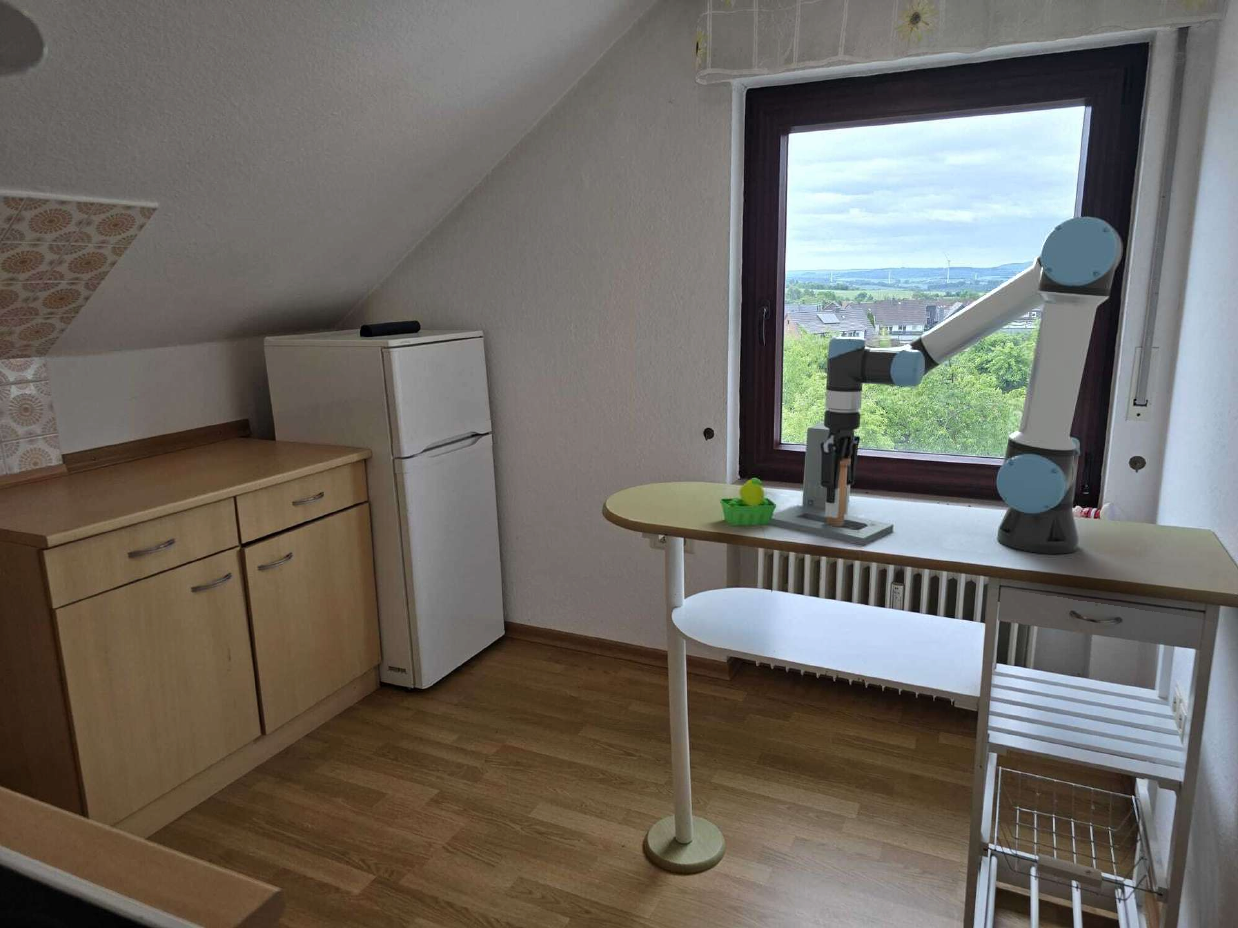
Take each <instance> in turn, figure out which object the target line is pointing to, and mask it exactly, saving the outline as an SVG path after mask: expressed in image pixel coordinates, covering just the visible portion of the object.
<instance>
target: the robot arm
mask: <svg viewBox="0 0 1238 928" xmlns="http://www.w3.org/2000/svg"><path fill="white" fill-rule="evenodd" d="M1123 248H1124V246H1123V241H1122V238H1121V236H1120V234H1119V233H1118V231H1117V230H1116V229H1115V228H1114V227H1113V226H1111V225H1110V223H1108V222H1106V220H1103V219H1101V218H1098V217H1095V216H1093V217H1092V216H1077V217H1073V218H1070V219H1067V220H1064V221H1063V222H1061V223H1059V224H1058V225H1057V226H1055V227H1054V228H1053V229H1052V230H1051V231H1050V232H1049V233H1048V234H1047V236H1046V238H1045V239H1044V241H1043V243H1042V245H1041V249H1040V254H1039V255H1038V256H1037V257H1035V258H1034V261H1033V265H1032V266H1030V267H1028V268H1027V269H1025V270H1024V271H1022V272H1020V273H1019V274H1017V275H1016V276H1014V277H1012V278H1010V279H1009V280H1008V281H1006V282H1005V283H1002V284H1001V285H1000V286H998V287H997V288H995V289H993V290H992V291H990V292H988V293H987V294H986V295H984V296H982V297H980V298H979V299H977V300H976V301H973V302H972V303H971V304H970V305H968V306H966V307H965V308H963V309H962V310H960V311H958V312H956V313H955V314H953V315H952V316H950V317H949V318H947V319H945V320H944V321H942V322H941V323H939V324H937V325H936V326H934V327H933V328H931V329H930V330H927V331H926V332H925V333H923V334H922V335H920V336H918V337H916V338H914V339H913V340H912V341H910V342H908V343H907V344H905V345H903V346H899V347H894V348H875V347H874V348H873V347H868V346H867V344H866V340H865V338H864V337H856V336H836V337H833V338H831V340H830V341H829V343H828V349H827V350H828V351H827V358H826V360H827V361H826V362H827V365H826V384H825V390H826V391H825V394H824V396H825V404H824V405H825V408H826V409H825V411H824V416H823V417H824V418H823V421H824V426H825V427H826V428H828V429H829V435H828V441H827V442H821V445H820V446H821V452H822V461H821V486H822V487H826V488H827V491H826V508H825V516H828V517H833V518H838V507H839V491H840V489H839V488H837V487H838V480H839V474H840V467H841V466H840V461H841V460H842V458H850V459H851V465H850V466H848V467H847V483H846V498H845V514H844V515H847V514H848V509H849V508H848V507H849V500H848V495H849V484H850V486H854V484H855V478H856V475H857V474H856V472H857V461H858V451H859V444H860V441H861V436H860V435H855V430H858V429H859V428H860V426H861V412H860V411H859V410H860V409H862V401H863V400H862V399H863V397H862V396H863V384H866V385H869V384H870V385H881V386H894V387H899V388H904V387H905V388H907V387H908V388H909V387H910V388H911V387H912V388H913V387H918V386H919V385H920V384H921V383H922V381H923V379H924V377H925V376H926V375H927V374H928V373H929V372H931V371H933V370H934V369H936V368H938V367H939V366H940V365H942V364H944V363H945V362H947V361H949V360H951V359H952V358H954V357H955V356H957V355H959V354H960V353H962V352H964V351H966V350H967V349H969V348H971V347H972V346H974V345H976V344H977V343H979V342H981V341H982V340H984V339H986V338H987V337H990V336H991V335H994V333H997V332H998V331H1000V330H1001V329H1003V328H1004V327H1006V326H1008V325H1010V324H1011V323H1014V322H1015V321H1016V320H1019V318H1021V317H1023V316H1025V315H1026V314H1029V313H1030V312H1032V311H1034V310H1035V309H1037V308H1039V307H1040V306H1042V305H1043V307H1042V313H1041V318H1040V322H1039V327H1038V332H1037V337H1036V344H1035V349H1034V352H1033V358H1032V364H1031V368H1030V372H1029V373H1030V374H1029V377H1028V384H1027V389H1026V392H1025V397H1024V398H1025V399H1024V402H1023V403H1024V404H1023V408H1022V409H1023V410H1022V413H1021V419H1020V425H1019V428H1018V429H1017V430H1015V431H1014V432H1012V433H1011V434H1009V436H1008V440H1007V444H1006V449H1005V450H1006V451H1005V456H1004V460H1003V463H1002V465H1001V466H1000V467H999V470H998V471H997V474H996V475H997V476H996V488H997V492H998V493H999V496H1000V497H1001V498H1002V500H1003V502H1004V503H1005V504H1007V505H1008V508H1007V509H1006V511H1005V514H1004V516H1003V518H1002V519H1001V522H1000V524H999V526H998V529H997V541H998V542H999V543H1000V544H1002V545H1004V546H1007V547H1009V548H1012V549H1015V550H1018V551H1019V550H1020V551H1024V552H1030V553H1036V554H1049V555H1054V554H1055V555H1058V554H1059V555H1061V554H1062V555H1064V554H1070V553H1073V552H1076V551H1077V550H1078V547H1079V541H1080V540H1079V539H1080V538H1079V534H1078V530H1077V526H1076V521H1075V518H1074V513H1073V507H1074V499H1075V489H1076V481H1077V473H1078V465H1079V463H1078V462H1079V456H1081V451H1080V446H1081V443H1080V441H1079V439H1077V438H1076V437H1071V436H1070V434H1071V429H1072V425H1073V424H1072V423H1073V419H1074V416H1075V411H1076V410H1075V409H1076V407H1077V406H1076V405H1077V401H1078V396H1079V392H1080V388H1081V381H1082V378H1083V374H1084V368H1085V364H1086V359H1087V354H1088V350H1089V345H1090V341H1091V338H1092V337H1091V335H1092V331H1093V326H1094V322H1095V317H1096V312H1097V308H1098V307H1099V305H1101V304H1102V303H1104V302H1105V301H1106V300H1108V299H1109V298H1110V294H1111V293H1110V292H1111V287H1112V284H1113V279H1114V275H1115V270H1116V269H1117V267H1119V265H1120V262H1121V259H1122V257H1123V252H1124V249H1123ZM849 496H850V495H849Z"/></svg>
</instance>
